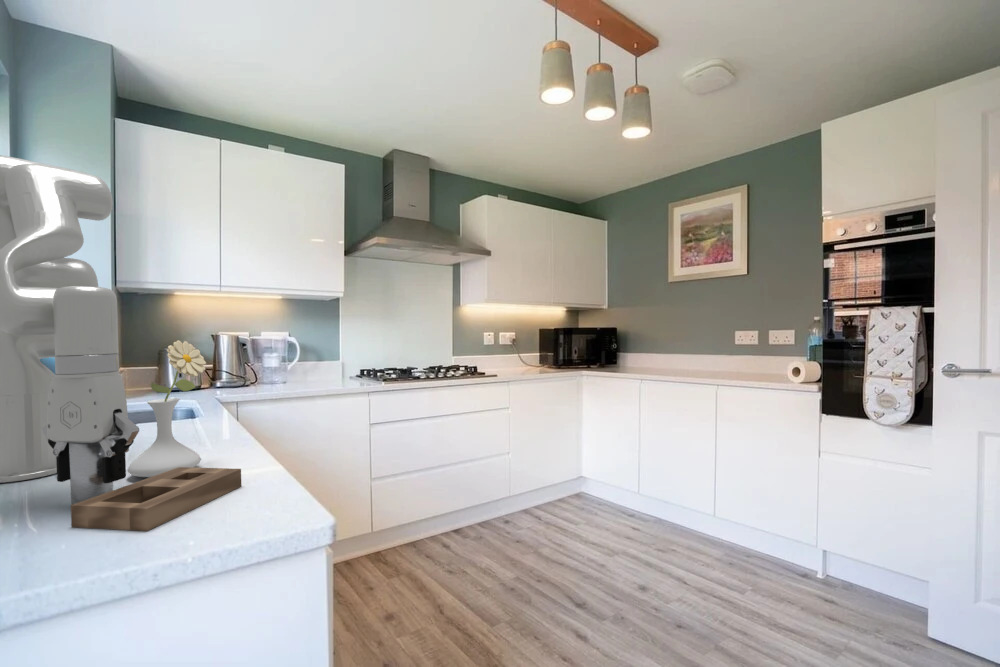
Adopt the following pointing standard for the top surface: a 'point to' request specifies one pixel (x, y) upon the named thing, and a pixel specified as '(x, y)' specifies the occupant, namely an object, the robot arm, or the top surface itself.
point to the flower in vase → (170, 418)
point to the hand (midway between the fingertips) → (92, 479)
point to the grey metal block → (87, 471)
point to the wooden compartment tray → (155, 499)
